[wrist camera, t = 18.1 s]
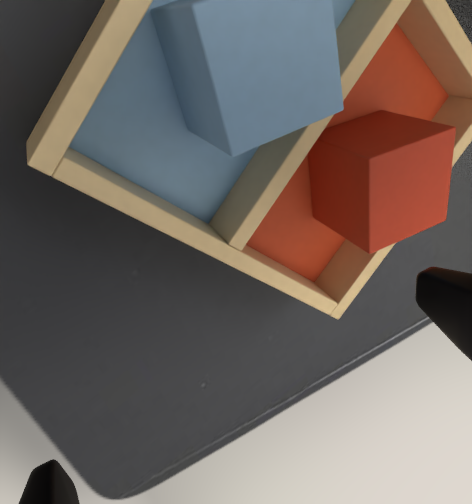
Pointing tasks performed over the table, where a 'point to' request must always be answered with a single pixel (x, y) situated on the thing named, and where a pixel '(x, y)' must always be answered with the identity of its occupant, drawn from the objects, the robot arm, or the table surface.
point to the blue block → (251, 67)
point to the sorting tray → (255, 160)
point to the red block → (381, 177)
